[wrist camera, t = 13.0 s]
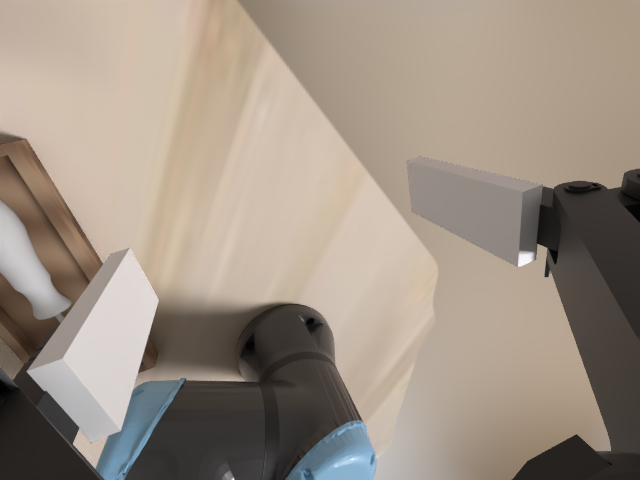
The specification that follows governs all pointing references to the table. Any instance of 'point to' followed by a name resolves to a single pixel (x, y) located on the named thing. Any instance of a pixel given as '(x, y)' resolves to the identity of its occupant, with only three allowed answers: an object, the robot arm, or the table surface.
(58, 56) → the table surface
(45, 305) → the screwdriver
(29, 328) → the tool tray
